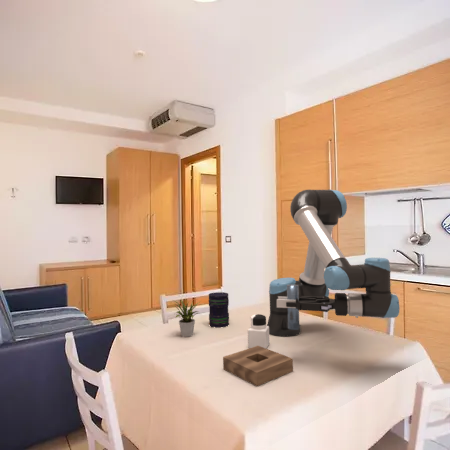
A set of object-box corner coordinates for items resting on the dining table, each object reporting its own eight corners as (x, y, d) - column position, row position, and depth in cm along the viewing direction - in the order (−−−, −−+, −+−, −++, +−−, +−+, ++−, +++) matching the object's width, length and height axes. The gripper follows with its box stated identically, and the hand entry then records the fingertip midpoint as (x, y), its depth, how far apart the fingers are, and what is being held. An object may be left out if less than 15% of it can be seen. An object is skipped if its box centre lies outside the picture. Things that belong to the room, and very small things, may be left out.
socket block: (223, 369, 108) (223, 356, 109) (258, 356, 118) (258, 345, 118) (256, 386, 96) (256, 372, 96) (293, 371, 106) (292, 358, 106)
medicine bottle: (269, 343, 132) (268, 313, 132) (266, 349, 125) (265, 318, 125) (252, 342, 134) (251, 312, 134) (247, 348, 127) (247, 317, 128)
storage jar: (217, 321, 167) (216, 291, 167) (233, 323, 161) (232, 293, 161) (204, 325, 159) (204, 294, 159) (221, 329, 153) (220, 296, 153)
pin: (285, 328, 116) (284, 285, 116) (293, 325, 118) (291, 284, 119) (294, 330, 113) (293, 286, 113) (301, 328, 115) (300, 285, 115)
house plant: (161, 338, 142) (160, 300, 142) (178, 329, 155) (177, 294, 155) (191, 341, 136) (190, 302, 137) (205, 331, 149) (204, 295, 150)
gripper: (349, 322, 103) (274, 318, 109) (345, 309, 119) (280, 306, 125) (349, 298, 103) (274, 296, 109) (344, 288, 119) (279, 287, 125)
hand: (277, 301), depth 117 cm, fingers closed on pin, 4 cm apart
